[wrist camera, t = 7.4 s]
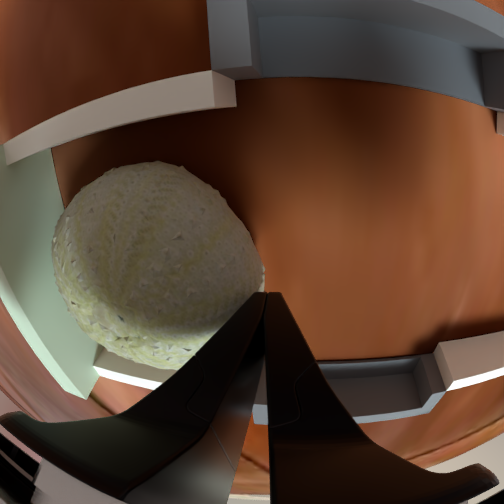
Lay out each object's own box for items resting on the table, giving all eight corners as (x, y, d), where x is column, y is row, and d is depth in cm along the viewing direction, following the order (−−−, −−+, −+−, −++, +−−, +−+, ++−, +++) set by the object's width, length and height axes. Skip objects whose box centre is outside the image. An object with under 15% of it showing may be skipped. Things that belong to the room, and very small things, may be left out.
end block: (47, 129, 10) (-32, 158, 5) (118, 342, 16) (86, 399, 12) (27, 139, 10) (-45, 169, 6) (97, 338, 17) (64, 390, 12)
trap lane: (585, 108, 3) (615, 119, 1) (513, 355, 13) (526, 380, 11) (42, 69, 8) (-2, 73, 5) (131, 366, 18) (116, 397, 15)
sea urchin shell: (32, 184, 9) (-6, 242, 4) (180, 141, 13) (291, 154, 8) (89, 334, 14) (134, 447, 8) (201, 286, 18) (286, 362, 12)
